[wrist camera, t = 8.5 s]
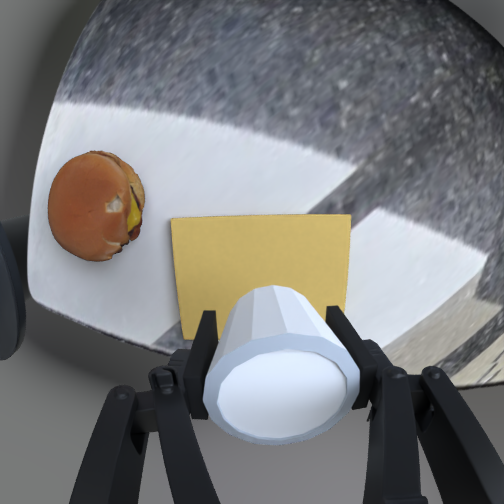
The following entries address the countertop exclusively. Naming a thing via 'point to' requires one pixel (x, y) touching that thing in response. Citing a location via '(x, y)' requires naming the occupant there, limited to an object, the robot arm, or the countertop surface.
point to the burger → (95, 205)
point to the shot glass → (278, 371)
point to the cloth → (258, 261)
